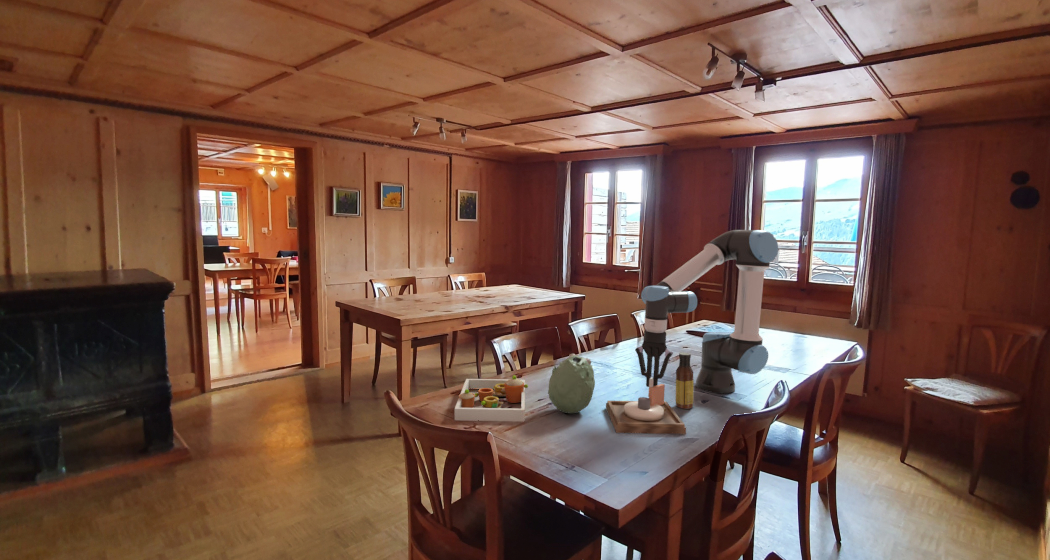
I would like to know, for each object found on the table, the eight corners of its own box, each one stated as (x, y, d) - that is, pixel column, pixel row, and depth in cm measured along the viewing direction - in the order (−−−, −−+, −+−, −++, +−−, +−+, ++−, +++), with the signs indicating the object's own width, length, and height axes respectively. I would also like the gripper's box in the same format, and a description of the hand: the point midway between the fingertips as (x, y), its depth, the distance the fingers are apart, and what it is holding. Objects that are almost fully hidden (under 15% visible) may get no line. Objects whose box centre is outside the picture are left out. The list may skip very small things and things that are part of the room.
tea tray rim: (524, 389, 204) (524, 379, 203) (524, 421, 170) (524, 409, 170) (466, 388, 204) (466, 378, 203) (454, 420, 170) (454, 408, 170)
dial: (648, 423, 164) (649, 399, 163) (616, 412, 173) (617, 389, 172) (678, 411, 175) (679, 388, 174) (646, 401, 185) (647, 379, 184)
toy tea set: (502, 390, 202) (502, 366, 201) (531, 399, 191) (532, 374, 190) (451, 407, 182) (451, 381, 181) (481, 418, 172) (481, 390, 171)
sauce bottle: (693, 405, 189) (695, 352, 187) (692, 410, 183) (695, 356, 181) (674, 402, 191) (677, 350, 189) (673, 408, 185) (676, 354, 183)
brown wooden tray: (666, 409, 184) (667, 401, 184) (685, 434, 162) (686, 424, 162) (605, 408, 184) (606, 400, 184) (616, 432, 162) (617, 423, 162)
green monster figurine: (538, 415, 176) (539, 358, 174) (562, 399, 192) (564, 347, 190) (580, 425, 168) (581, 366, 166) (601, 408, 184) (603, 353, 182)
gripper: (634, 329, 177) (630, 395, 179) (671, 334, 171) (667, 402, 174) (639, 326, 184) (636, 389, 186) (676, 330, 178) (671, 396, 180)
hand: (651, 396), depth 180 cm, fingers closed
